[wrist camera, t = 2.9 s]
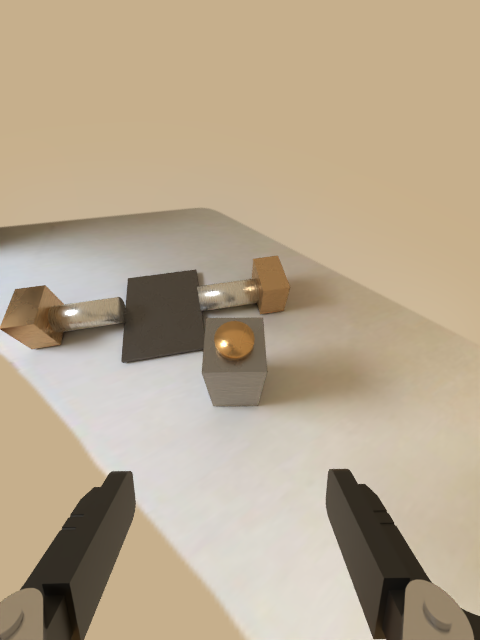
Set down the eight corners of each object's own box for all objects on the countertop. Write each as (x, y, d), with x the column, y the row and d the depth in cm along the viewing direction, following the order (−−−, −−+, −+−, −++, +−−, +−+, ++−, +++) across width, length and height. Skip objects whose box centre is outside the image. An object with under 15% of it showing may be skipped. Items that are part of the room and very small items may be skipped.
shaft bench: (22, 379, 25) (-15, 362, 22) (49, 290, 32) (24, 266, 28) (292, 334, 28) (300, 313, 25) (266, 262, 35) (270, 236, 31)
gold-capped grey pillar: (257, 405, 24) (268, 367, 16) (213, 406, 24) (200, 368, 16) (255, 363, 26) (263, 311, 18) (215, 364, 26) (204, 312, 18)
